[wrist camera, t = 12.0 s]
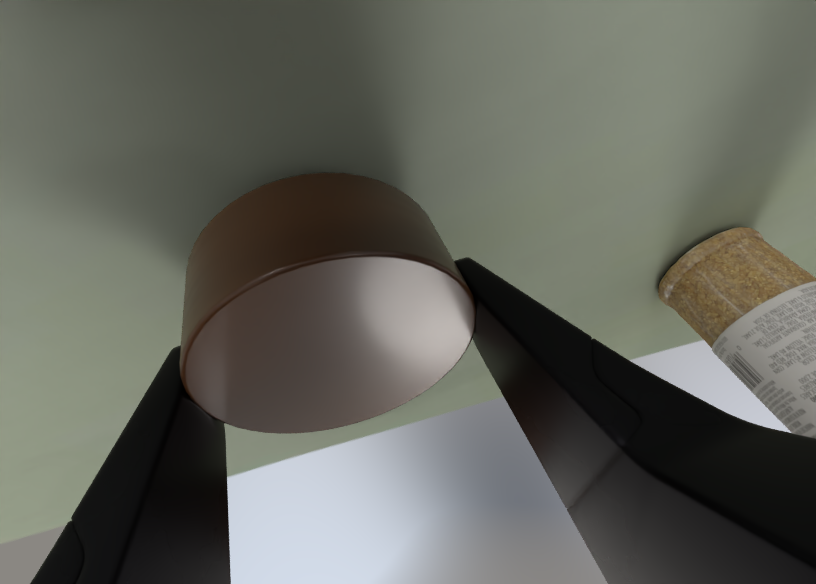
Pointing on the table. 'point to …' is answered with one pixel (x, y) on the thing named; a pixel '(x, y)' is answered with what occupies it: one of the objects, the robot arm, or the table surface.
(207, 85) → the table surface
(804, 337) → the sprinkles bottle
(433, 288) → the walnut chip
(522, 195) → the table surface
